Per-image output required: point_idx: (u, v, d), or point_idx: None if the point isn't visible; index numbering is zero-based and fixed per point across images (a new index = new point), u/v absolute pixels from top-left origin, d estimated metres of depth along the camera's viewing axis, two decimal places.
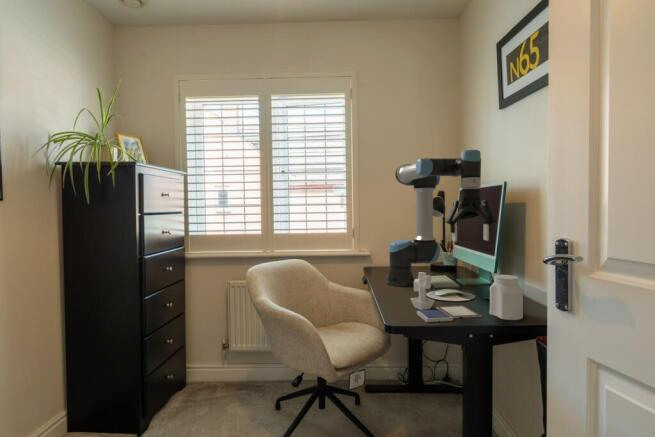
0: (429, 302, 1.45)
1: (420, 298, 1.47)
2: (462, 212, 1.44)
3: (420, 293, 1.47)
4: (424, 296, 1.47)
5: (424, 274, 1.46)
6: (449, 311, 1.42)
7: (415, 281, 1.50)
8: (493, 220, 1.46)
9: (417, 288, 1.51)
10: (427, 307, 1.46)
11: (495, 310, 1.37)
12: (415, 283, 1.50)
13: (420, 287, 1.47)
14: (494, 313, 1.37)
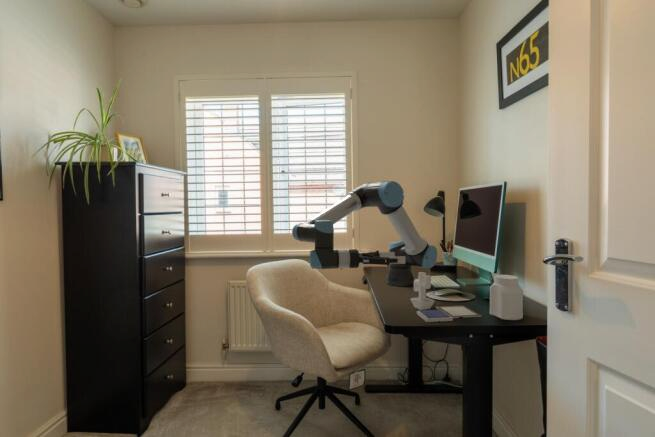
0: (429, 302, 1.45)
1: (420, 298, 1.47)
2: None
3: (420, 293, 1.47)
4: (424, 296, 1.47)
5: (424, 274, 1.46)
6: (449, 311, 1.42)
7: (415, 281, 1.50)
8: None
9: (417, 288, 1.51)
10: (427, 307, 1.46)
11: (495, 310, 1.37)
12: (415, 283, 1.50)
13: (420, 287, 1.47)
14: (494, 313, 1.37)
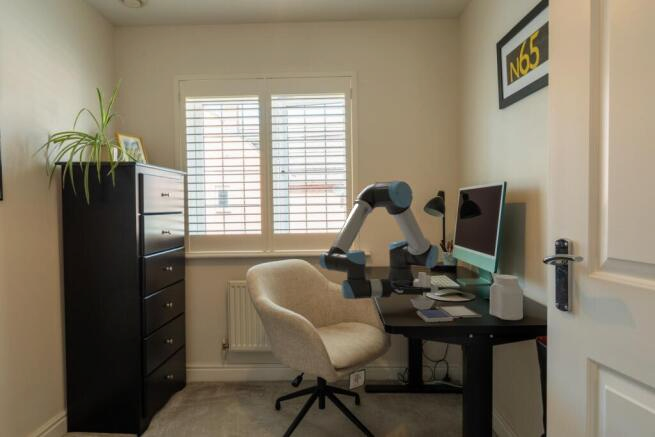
0: (429, 302, 1.45)
1: (420, 298, 1.47)
2: None
3: None
4: (424, 296, 1.47)
5: (424, 274, 1.46)
6: (449, 311, 1.42)
7: (415, 281, 1.50)
8: None
9: None
10: (427, 307, 1.46)
11: (495, 310, 1.37)
12: (415, 283, 1.50)
13: None
14: (494, 313, 1.37)
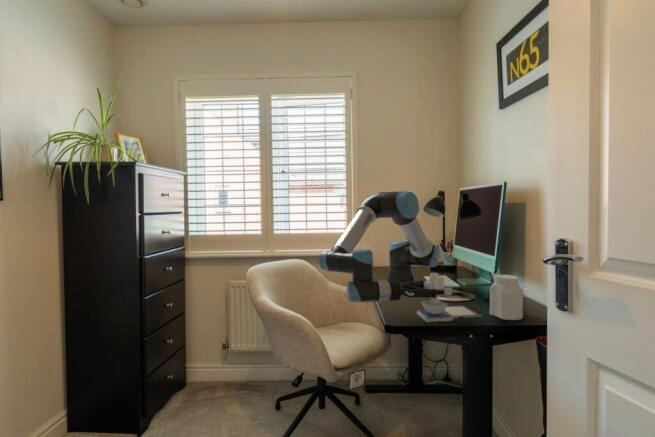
0: (442, 305, 1.33)
1: (432, 301, 1.35)
2: None
3: None
4: (436, 299, 1.35)
5: (436, 275, 1.34)
6: (449, 311, 1.42)
7: (426, 282, 1.38)
8: None
9: None
10: (440, 311, 1.34)
11: (495, 310, 1.37)
12: (426, 285, 1.38)
13: None
14: (494, 313, 1.37)
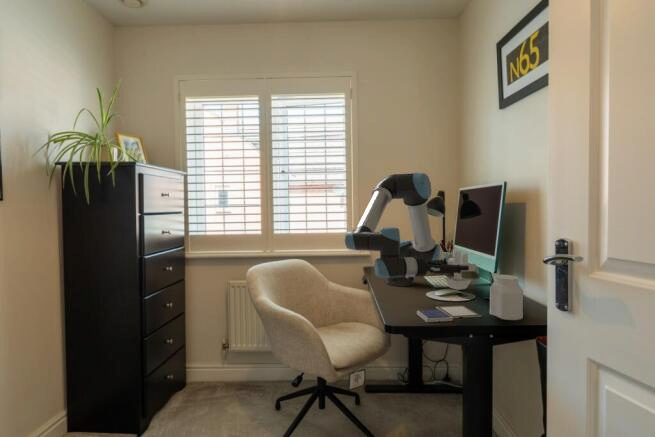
0: (466, 281, 1.39)
1: (456, 277, 1.41)
2: None
3: None
4: (460, 275, 1.41)
5: (460, 252, 1.40)
6: (449, 311, 1.42)
7: (450, 260, 1.44)
8: None
9: None
10: (463, 287, 1.40)
11: (495, 310, 1.37)
12: (450, 262, 1.44)
13: None
14: (494, 313, 1.37)
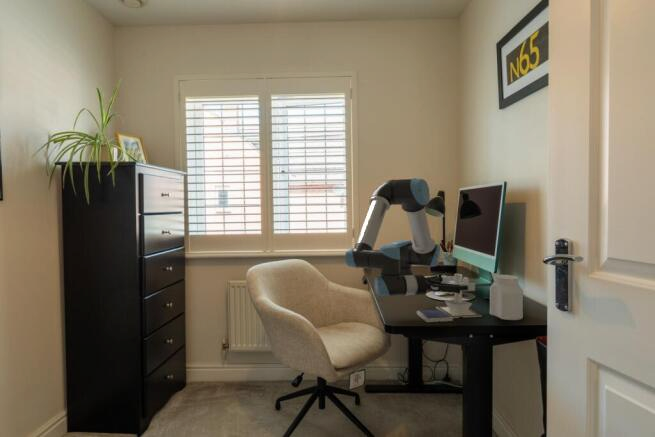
0: (466, 305, 1.39)
1: (456, 301, 1.41)
2: None
3: (456, 295, 1.41)
4: (460, 299, 1.41)
5: (461, 276, 1.40)
6: (449, 311, 1.42)
7: (450, 283, 1.44)
8: None
9: None
10: (464, 310, 1.40)
11: (495, 310, 1.37)
12: None
13: None
14: (494, 313, 1.37)
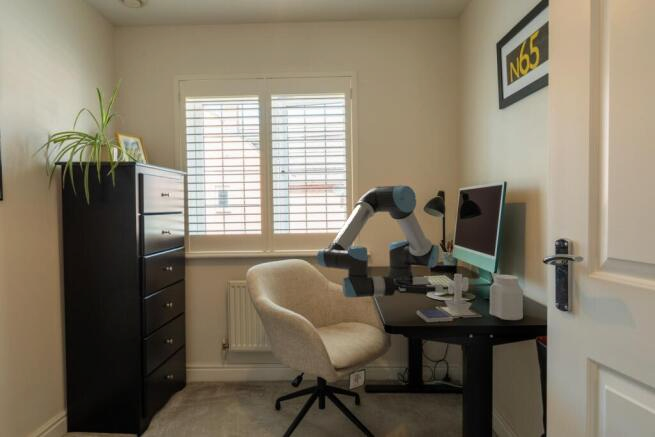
0: (466, 305, 1.39)
1: (456, 301, 1.41)
2: None
3: (456, 296, 1.41)
4: (460, 299, 1.41)
5: (460, 276, 1.40)
6: (449, 311, 1.42)
7: (450, 283, 1.44)
8: None
9: (452, 290, 1.45)
10: (464, 310, 1.40)
11: (495, 310, 1.37)
12: (450, 285, 1.44)
13: (456, 289, 1.41)
14: (494, 313, 1.37)
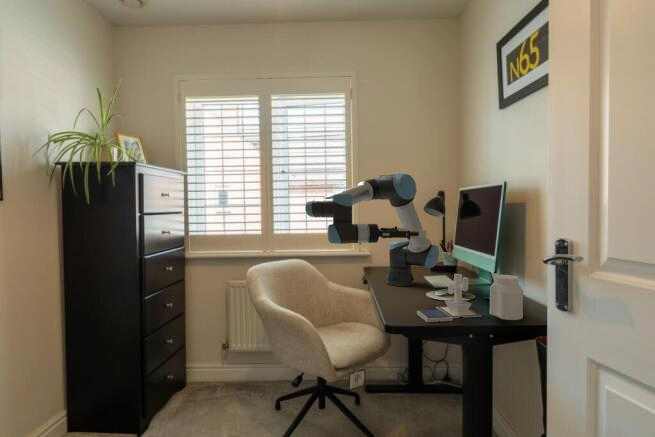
0: (466, 305, 1.39)
1: (456, 301, 1.41)
2: None
3: (456, 296, 1.41)
4: (460, 299, 1.41)
5: (460, 276, 1.40)
6: (449, 311, 1.42)
7: (450, 283, 1.44)
8: None
9: (452, 290, 1.45)
10: (464, 310, 1.40)
11: (495, 310, 1.37)
12: (450, 285, 1.44)
13: (456, 289, 1.41)
14: (494, 313, 1.37)
